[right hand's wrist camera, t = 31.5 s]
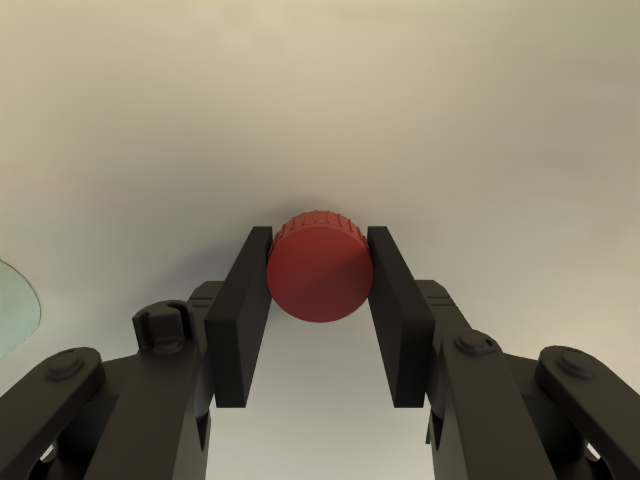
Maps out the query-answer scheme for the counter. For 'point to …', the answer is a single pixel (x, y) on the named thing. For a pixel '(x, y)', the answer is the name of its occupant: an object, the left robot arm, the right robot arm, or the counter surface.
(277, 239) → the cap
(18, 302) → the bottle
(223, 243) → the counter surface
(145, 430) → the right robot arm
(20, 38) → the counter surface
